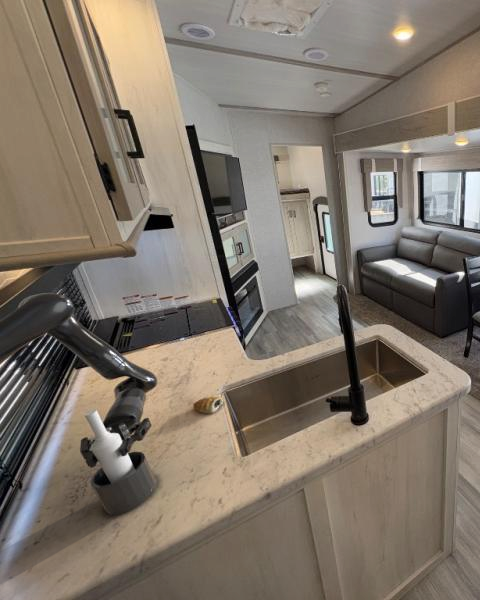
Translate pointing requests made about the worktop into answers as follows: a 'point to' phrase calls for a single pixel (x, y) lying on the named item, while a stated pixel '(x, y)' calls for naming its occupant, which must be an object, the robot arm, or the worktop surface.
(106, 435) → the bottle
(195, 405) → the pastry
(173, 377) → the worktop surface
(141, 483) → the bowl
